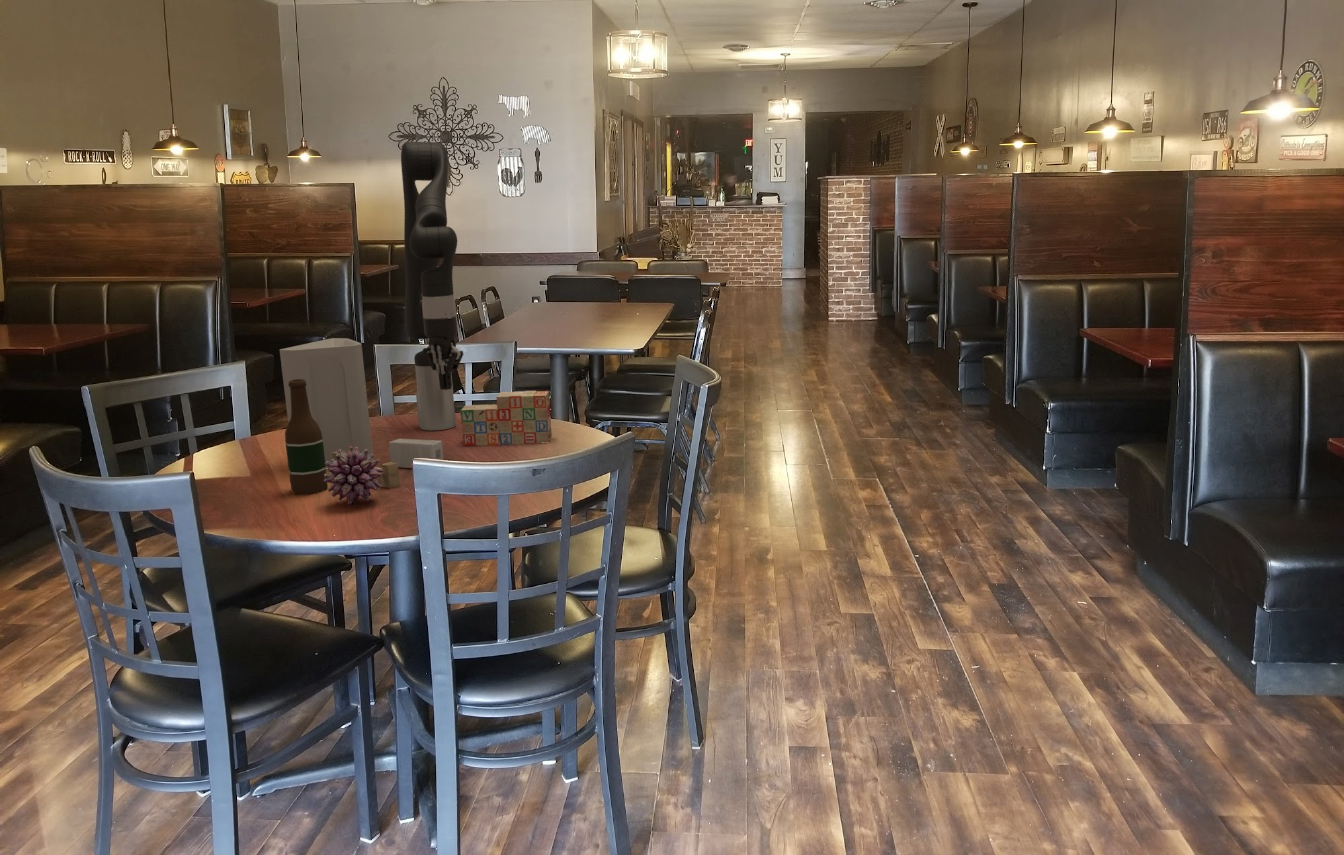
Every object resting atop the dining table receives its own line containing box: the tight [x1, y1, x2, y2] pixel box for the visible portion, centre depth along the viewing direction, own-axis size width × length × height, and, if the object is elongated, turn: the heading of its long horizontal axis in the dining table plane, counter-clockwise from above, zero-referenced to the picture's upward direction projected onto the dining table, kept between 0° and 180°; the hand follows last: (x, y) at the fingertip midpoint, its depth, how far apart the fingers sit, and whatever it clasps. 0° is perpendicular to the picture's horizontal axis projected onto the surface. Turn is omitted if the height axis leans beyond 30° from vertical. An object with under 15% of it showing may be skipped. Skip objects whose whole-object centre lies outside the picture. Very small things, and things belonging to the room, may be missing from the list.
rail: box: [332, 451, 401, 489], centre depth 242 cm, size 22×2×5 cm, turn 48°
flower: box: [324, 447, 383, 505], centre depth 223 cm, size 12×12×12 cm
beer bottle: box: [284, 379, 329, 495], centre depth 233 cm, size 8×8×24 cm
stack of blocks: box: [460, 390, 553, 447], centre depth 272 cm, size 21×6×12 cm, turn 89°
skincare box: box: [388, 438, 444, 469], centre depth 252 cm, size 6×4×12 cm
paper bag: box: [279, 337, 374, 468], centre depth 258 cm, size 19×15×28 cm
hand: (446, 389), depth 256 cm, fingers closed
